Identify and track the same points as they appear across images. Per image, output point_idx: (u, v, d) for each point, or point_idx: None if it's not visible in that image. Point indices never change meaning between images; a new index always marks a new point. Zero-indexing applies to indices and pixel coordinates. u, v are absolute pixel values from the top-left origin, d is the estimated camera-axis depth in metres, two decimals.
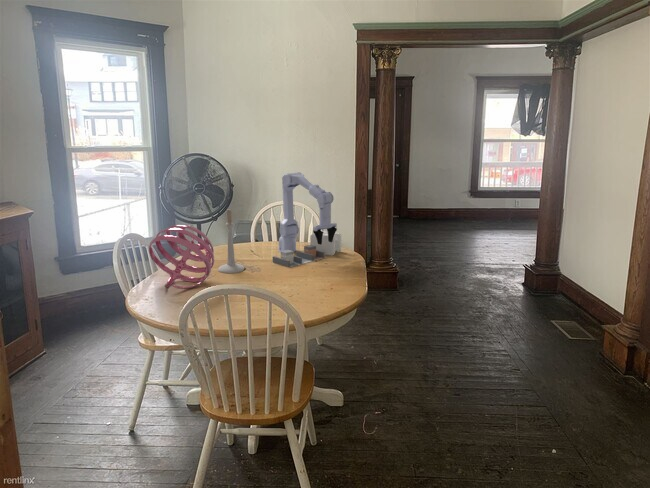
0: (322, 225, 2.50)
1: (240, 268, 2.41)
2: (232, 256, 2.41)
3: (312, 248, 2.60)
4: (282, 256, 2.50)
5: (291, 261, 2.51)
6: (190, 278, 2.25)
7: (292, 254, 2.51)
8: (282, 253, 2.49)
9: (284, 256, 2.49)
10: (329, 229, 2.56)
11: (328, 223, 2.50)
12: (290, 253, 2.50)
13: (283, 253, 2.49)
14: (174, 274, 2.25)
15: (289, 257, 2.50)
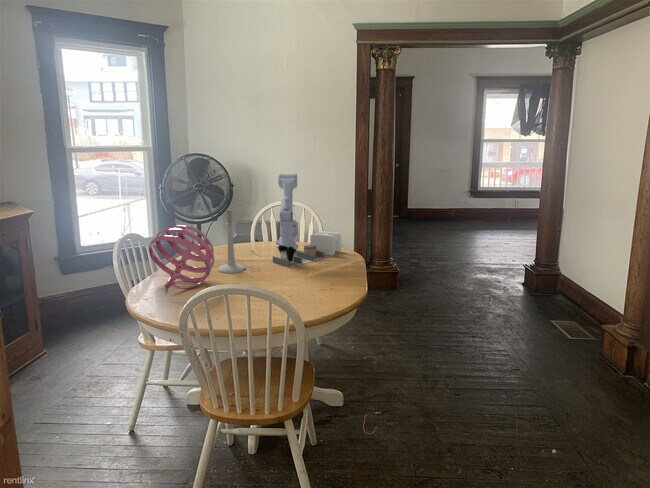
0: None
1: (240, 268, 2.41)
2: (232, 256, 2.41)
3: (312, 248, 2.60)
4: (282, 256, 2.50)
5: (291, 261, 2.51)
6: (190, 278, 2.25)
7: None
8: (282, 253, 2.49)
9: (284, 256, 2.49)
10: None
11: (282, 240, 2.47)
12: None
13: (283, 253, 2.49)
14: (174, 274, 2.25)
15: None
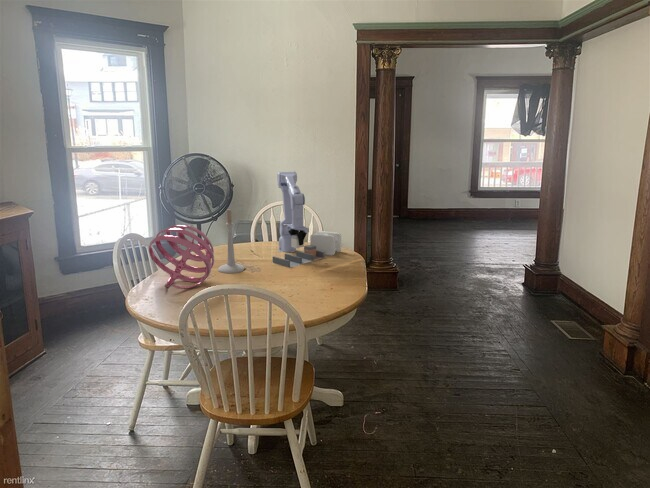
0: None
1: (240, 268, 2.41)
2: (232, 256, 2.41)
3: (312, 248, 2.60)
4: (293, 240, 2.53)
5: (301, 245, 2.54)
6: (190, 278, 2.25)
7: None
8: (293, 237, 2.53)
9: (294, 239, 2.52)
10: None
11: (293, 224, 2.51)
12: None
13: (294, 237, 2.52)
14: (174, 274, 2.25)
15: None
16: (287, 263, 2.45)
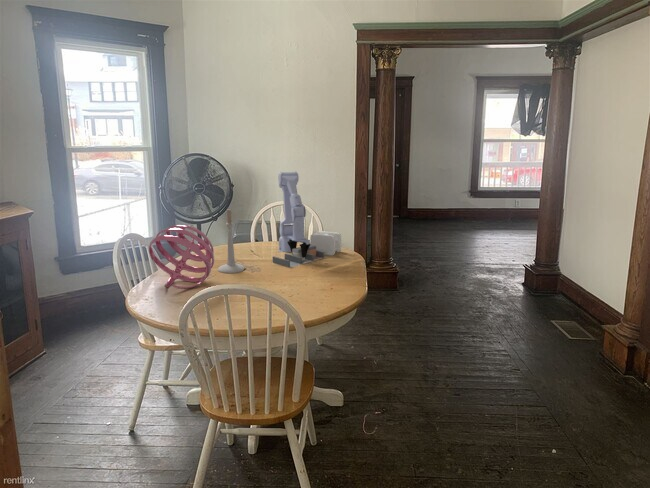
0: None
1: (240, 268, 2.41)
2: (232, 256, 2.41)
3: (312, 248, 2.60)
4: (294, 253, 2.55)
5: (302, 258, 2.56)
6: (190, 278, 2.25)
7: None
8: (294, 250, 2.55)
9: (295, 253, 2.54)
10: None
11: (294, 236, 2.53)
12: None
13: (295, 250, 2.54)
14: (174, 274, 2.25)
15: (301, 254, 2.55)
16: (287, 263, 2.45)
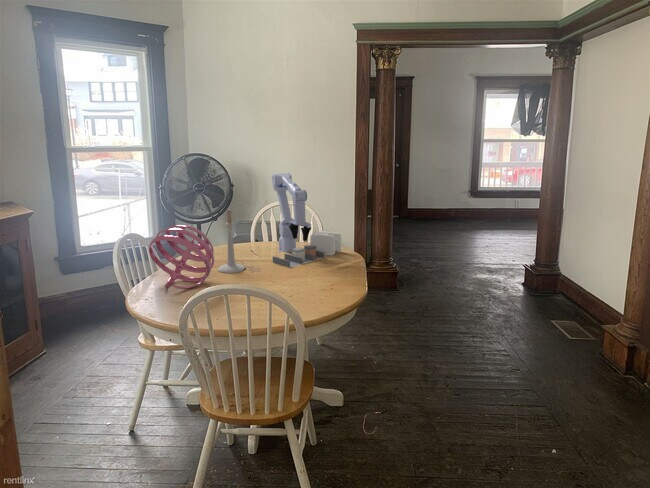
0: None
1: (240, 268, 2.41)
2: (232, 256, 2.41)
3: (312, 248, 2.60)
4: (294, 253, 2.55)
5: (302, 258, 2.56)
6: (190, 278, 2.25)
7: (303, 251, 2.56)
8: (294, 250, 2.55)
9: (295, 253, 2.54)
10: None
11: (295, 220, 2.57)
12: (301, 250, 2.55)
13: (295, 250, 2.54)
14: (174, 274, 2.25)
15: (301, 254, 2.55)
16: (287, 263, 2.45)
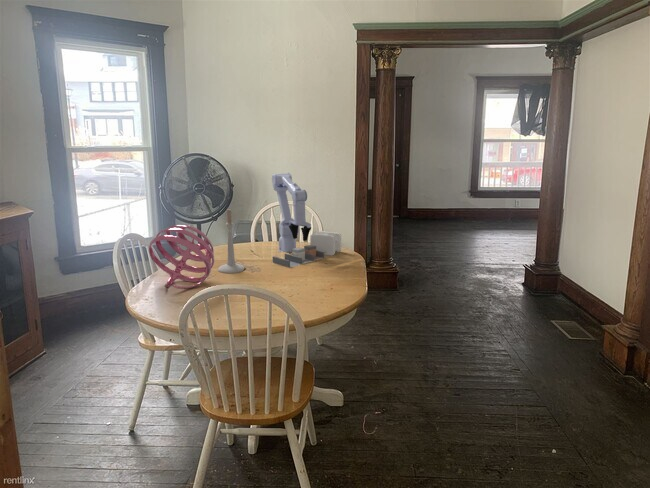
0: None
1: (240, 268, 2.41)
2: (232, 256, 2.41)
3: (312, 248, 2.60)
4: (294, 253, 2.55)
5: (302, 258, 2.56)
6: (190, 278, 2.25)
7: (303, 251, 2.56)
8: (294, 250, 2.55)
9: (295, 253, 2.54)
10: None
11: (295, 220, 2.57)
12: (301, 250, 2.55)
13: (295, 250, 2.54)
14: (174, 274, 2.25)
15: (301, 254, 2.55)
16: (287, 263, 2.45)
